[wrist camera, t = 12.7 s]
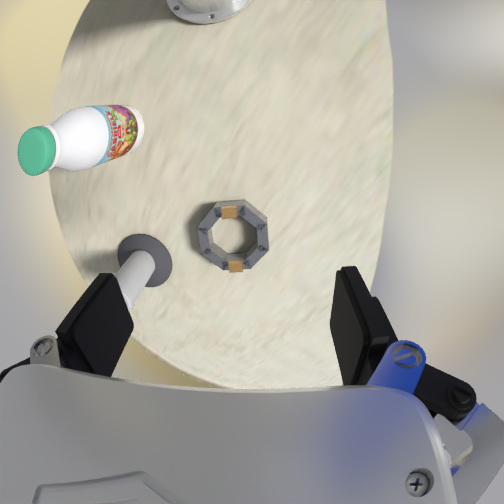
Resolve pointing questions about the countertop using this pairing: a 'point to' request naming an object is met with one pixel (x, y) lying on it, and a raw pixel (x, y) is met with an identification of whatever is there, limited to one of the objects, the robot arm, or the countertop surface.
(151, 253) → the slate coaster
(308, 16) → the countertop surface
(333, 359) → the countertop surface
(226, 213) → the ring
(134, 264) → the beverage can
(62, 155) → the milk bottle
